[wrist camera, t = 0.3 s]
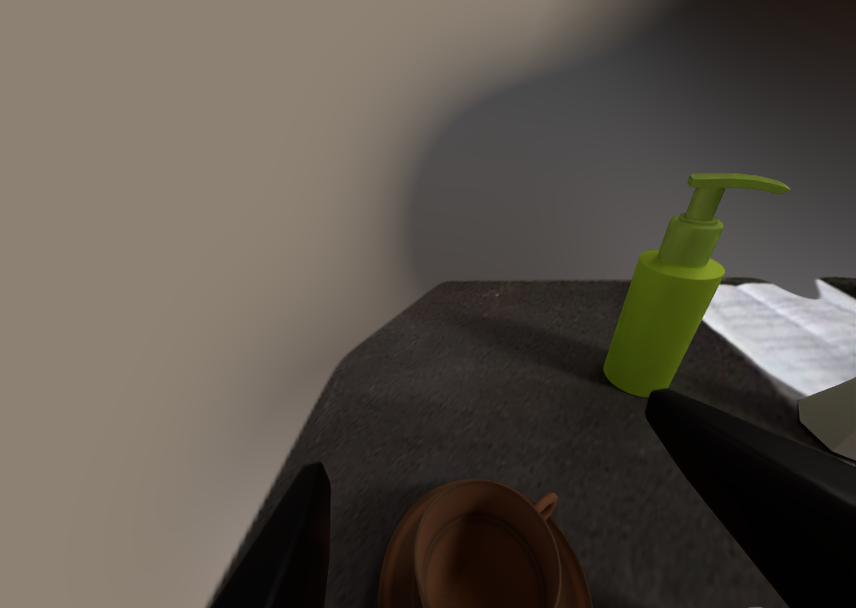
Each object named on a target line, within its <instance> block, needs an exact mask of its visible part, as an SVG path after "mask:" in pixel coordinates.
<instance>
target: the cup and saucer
mask: <svg viewBox="0 0 856 608" xmlns="http://www.w3.org/2000/svg"><path fill="white" fill-rule="evenodd" d="M557 501H558V497H557V495H556V494H555V493H548V494H547V495H545V496H544V497H542V498H541V499H540V500H539V501H538V502H537V503H535V502H534V501H532V500H531V499H530V498H528V497H527V496H525V495H524V494H522V493H520V492H518V491H517V490H515V489H513V488H511V487H509V486H507V485H504V484H502V483H499V482H496V481H492V480H487V479H463V480H457V481H453V482H449V483H446V484H443V485H441V486H439V487H437V488H435V489H433V490H431V491H429V492H428V493H426V494H425V495H424V496H422V497H421V498H420V499H419V500H418V501H416V502H415V503H414V504H413V505H412V506H411V508H410V509H409V510H408V511H407V512H406V513H405V515H404V516H403V517H402V519H401V520H400V522H399V524H398V525H397V527H396V529H395V531H394V533H393V534H392V537H391V539H390V541H389V544H388V546H387V549H386V552H385V555H384V559H383V563H382V568H381V574H380V581H379V593H378V608H593V605H592V599H591V595H590V591H589V587H588V583H587V580H586V578H585V575H584V572H583V569H582V567H581V564H580V562H579V560H578V558H577V556H576V554H575V552H574V550H573V548H572V546H571V545H570V543H569V541H568V540H567V538H566V536H565V535H564V534H563V532H562V531H561V529H560V528H559V527H558V525H557V524H556V523H555V522H554V521H553V519H552V518H551V517H550V515H551V513H552V512H553V510H554V508H555V506H556V504H557Z"/></svg>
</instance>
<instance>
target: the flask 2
mask: <svg viewBox="0 0 856 608" xmlns="http://www.w3.org/2000/svg"><path fill="white" fill-rule="evenodd" d="M798 405H799V416H800V422H801V423H802V424H804V425H805V426H806V427H807V428H808V429H809V430H810V431H811V432H812V433H813V434H814V435H815V436H816V437H817V438H818V439H819V440H820V441H822V442H823V443H824V444H825V445H826V446H827V447H828V448H829V449H830V450H831V451H833V452H835V453H838V454H840V455H843V456H845V457H848V458H850V459H853V460H855V461H856V377H855V378H853V379H851V380H848V381H846V382H844V383H842V384H839V385H837V386H834V387H831V388H829V389H826V390H824V391H821V392H818V393H816V394H813V395H811V396H808V397H806V398H803V399H801V400H799V401H798Z"/></svg>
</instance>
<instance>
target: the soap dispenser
mask: <svg viewBox="0 0 856 608" xmlns="http://www.w3.org/2000/svg"><path fill="white" fill-rule="evenodd" d="M688 184H689V187H696V189H695V191H694V195H693V197H692V200H691V202H690V205H689V207H688V210H687V212H686V213H683V214H680V215H677V216H674V217H672V218H671V220H670V222H669V225H668V228H667V231H666V234H665V236H664V239H663V242H662V245H661V247H660V249H653V250H648V251H645V252H643V253H642V254H641V255H640V256H639V260H638V263H637V266H636V269H635V272H634V275H633V278H632V281H631V284H630V287H629V290H628V293H627V296H626V299H625V302H624V305H623V308H622V311H621V315H620V318H619V321H618V324H617V327H616V330H615V333H614V336H613V339H612V342H611V345H610V348H609V351H608V354H607V357H606V360H605V363H604V367H603V369H604V373H605V376H606V377H607V379H608V380H609V381H610V382H611V383H612V384H613V385H615V386H616V387H617V388H619V389H621V390H623V391H625V392H627V393H629V394H632V395H635V396H640V397H649V395H650V393H651V392H652V391H654V390H658V389H663V388H668V387H669V385H670V383H671V381H672V379H673V377H674V375H675V373H676V371H677V369H678V367H679V365H680V363H681V361H682V359H683V356H684V354H685V352H686V350H687V348H688V346H689V344H690V342H691V340H692V338H693V336H694V334H695V332H696V330H697V328H698V326H699V324H700V322H701V320H702V318H703V316H704V314H705V312H706V310H707V308H708V306H709V304H710V302H711V300H712V298H713V296H714V294H715V292H716V290H717V288H718V286H719V284H720V282H721V280H722V278H723V276H724V274H725V269H724V267H723V266H722V265H721V264H719V263H718V262H716V261H715V260H712V259H710V256H711V254H712V252H713V250H714V248H715V246H716V243H717V241H718V239H719V237H720V235H721V232H722V230H723V228H724V224H723V223H722V222H721V221H719V220H718V219H717V218H716V217H714V214H715V212H716V209H717V207H718V204H719V202H720V200H721V198H722V195H723V193H724V191H725V189H726V188H746V189H756V190H762V191H767V192H771V193H775V194H782V193H784V192H787V191H789V190H790V188H789V187H787V186H786V185H784V184H783V183H781V182H779V181H776V180H773V179H769V178H765V177H760V176H755V175H749V174H739V173H704V174H690V176H689V179H688Z"/></svg>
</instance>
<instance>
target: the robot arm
mask: <svg viewBox="0 0 856 608" xmlns="http://www.w3.org/2000/svg"><path fill="white" fill-rule="evenodd" d="M645 416H646V419H647V421H648V422H649V424H650V425H651V427H652V428H653V430H654V431H655V433H656V434H657V436H658V437H659V439H660V440H661V442H662V443H663V445H664V446H665V448H666V449H667V451H668V452H669V454H670V455H671V457H672V458H673V460H674V461H675V463H676V464H677V466H678V467H679V469H680V470H681V472H682V473H683V474H684V476H685V477H686V478H687V480H688V481H689V482H690V483H691V485H692V486H693V487H694V489H695V490H696V491H697V492H698V494H699V495H700V496H701V497H702V499H703V500H704V501H705V502H706V504H707V505H708V506H709V507H710V509H711V510H712V511H713V512H714V514H715V515H716V516H717V517H718V519H719V520H720V521H721V522H722V524H723V525H724V526H725V527H726V529H727V530H728V531H729V532H730V534H731V535H732V536H733V537H734V539H735V540H736V541H737V542H738V544H739V545H740V546H741V547H742V549H743V550H744V551H745V552H746V554H747V555H748V556H749V557H750V559H751V560H752V561H753V562H754V564H755V565H756V566H757V568H758V569H759V570H760V571H761V573H762V574H763V575H764V576H765V578H766V579H767V580H768V581H769V583H770V584H771V585H772V586H773V588H774V589H775V590H776V591H777V593H778V594H779V595H780V596H781V598H782V599H783V600H784V601H785V603H786V604H787V605H788V606H789V608H856V467H854V466H851V465H849V464H847V463H844V462H842V461H839V460H837V459H835V458H832V457H830V456H828V455H825V454H823V453H820V452H818V451H816V450H813V449H811V448H809V447H806V446H804V445H802V444H799V443H797V442H794V441H792V440H790V439H787V438H785V437H783V436H780V435H778V434H775V433H773V432H771V431H768V430H766V429H764V428H761V427H759V426H757V425H754V424H752V423H749V422H747V421H745V420H742V419H740V418H738V417H735V416H733V415H730V414H728V413H726V412H723V411H721V410H719V409H716V408H714V407H711V406H709V405H707V404H704V403H702V402H700V401H697V400H695V399H693V398H690V397H688V396H685V395H683V394H681V393H678V392H676V391H674V390H671V389H668V388H663V389H658V390H654V391H652V392H651V393H650V395H649V399H648V402H647V406H646V410H645ZM330 503H331V487H330V481H329V479H328V476H327V474H326V471H325V469H324V466H323V464H322V463H321V462H320V461H317V462H313V463H308V464H305V465H304V466H303V467H302V468H301V470H300V471H299V473H298V474H297V476H296V477H295V479H294V480H293V482H292V483H291V485H290V486H289V488H288V490H287V491H286V493H285V494H284V496H283V497H282V499H281V500H280V502H279V503H278V505H277V506H276V508H275V509H274V511H273V513H272V514H271V516H270V517H269V519H268V520H267V522H266V523H265V525H264V526H263V528H262V529H261V531H260V532H259V534H258V536H257V537H256V539H255V540H254V542H253V543H252V545H251V546H250V548H249V549H248V551H247V552H246V554H245V555H244V557H243V559H242V560H241V562H240V563H239V565H238V566H237V568H236V569H235V571H234V572H233V574H232V575H231V577H230V578H229V580H228V582H227V583H226V585H225V586H224V588H223V589H222V591H221V592H220V594H219V595H218V597H217V598H216V600H215V601H214V603H213V604H212V606H211V608H324V602H325V593H326V585H327V576H328V567H329V553H330Z"/></svg>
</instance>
